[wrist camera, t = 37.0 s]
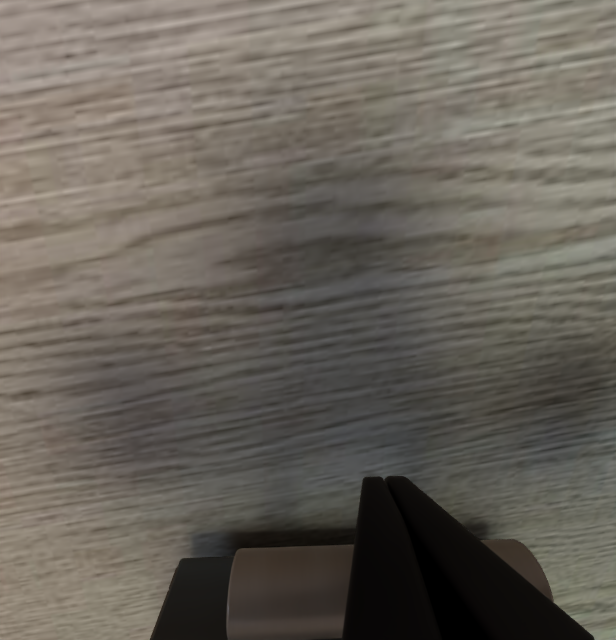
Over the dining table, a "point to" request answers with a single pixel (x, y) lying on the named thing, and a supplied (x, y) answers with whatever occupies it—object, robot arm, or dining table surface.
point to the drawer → (282, 592)
